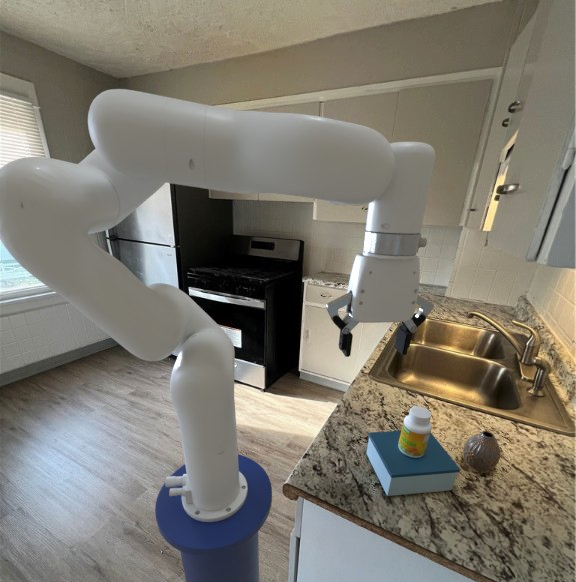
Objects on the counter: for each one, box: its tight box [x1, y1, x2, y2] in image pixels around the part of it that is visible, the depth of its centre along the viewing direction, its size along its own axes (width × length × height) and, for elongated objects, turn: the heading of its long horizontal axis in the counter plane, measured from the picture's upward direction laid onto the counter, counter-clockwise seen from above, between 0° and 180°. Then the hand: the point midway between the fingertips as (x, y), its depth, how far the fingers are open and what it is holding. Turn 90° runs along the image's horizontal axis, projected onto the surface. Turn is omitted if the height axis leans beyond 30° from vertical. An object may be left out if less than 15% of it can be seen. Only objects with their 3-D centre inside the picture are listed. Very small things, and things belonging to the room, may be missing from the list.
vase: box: [462, 430, 501, 472], centre depth 69 cm, size 7×7×9 cm
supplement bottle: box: [398, 405, 433, 458], centre depth 64 cm, size 5×5×10 cm
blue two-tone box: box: [366, 430, 462, 497], centre depth 68 cm, size 14×12×6 cm
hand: (373, 352), depth 53 cm, fingers open, 9 cm apart
